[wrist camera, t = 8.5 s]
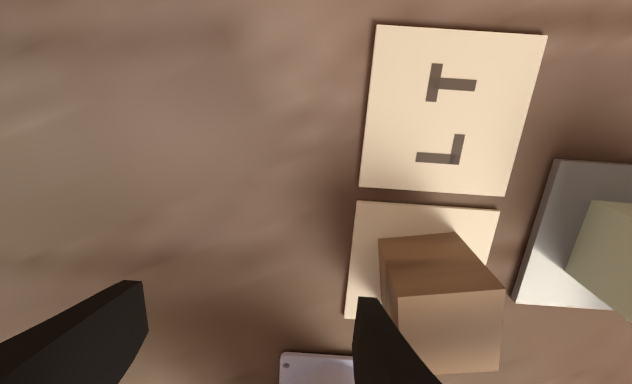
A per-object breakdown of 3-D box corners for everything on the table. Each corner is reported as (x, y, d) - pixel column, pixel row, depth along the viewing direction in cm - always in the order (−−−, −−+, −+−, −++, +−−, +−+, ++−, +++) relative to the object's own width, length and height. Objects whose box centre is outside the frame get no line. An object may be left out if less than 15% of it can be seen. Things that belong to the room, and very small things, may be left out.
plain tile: (467, 324, 23) (468, 327, 23) (343, 315, 23) (344, 318, 23) (497, 209, 20) (500, 211, 20) (356, 200, 20) (357, 201, 20)
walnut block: (453, 296, 22) (498, 370, 16) (381, 302, 22) (400, 376, 17) (455, 231, 20) (506, 289, 15) (377, 238, 21) (397, 297, 15)
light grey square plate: (653, 307, 22) (661, 313, 22) (510, 297, 22) (515, 303, 22) (721, 169, 19) (733, 172, 18) (554, 158, 19) (560, 160, 18)
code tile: (501, 195, 20) (504, 196, 20) (358, 185, 20) (358, 186, 20) (544, 36, 17) (548, 35, 17) (376, 25, 17) (377, 24, 17)
